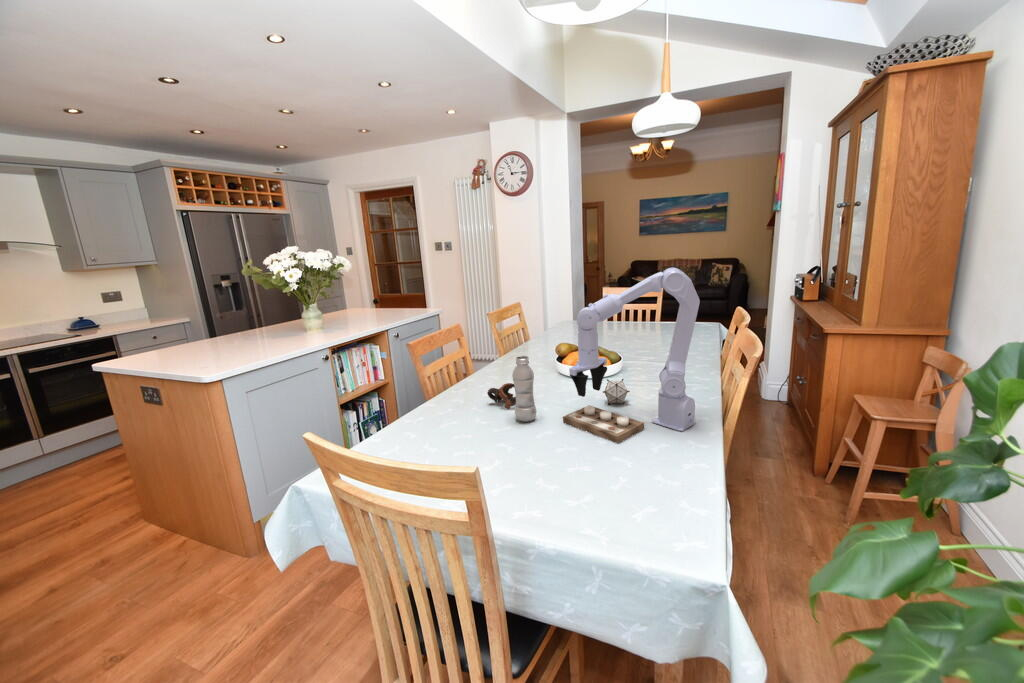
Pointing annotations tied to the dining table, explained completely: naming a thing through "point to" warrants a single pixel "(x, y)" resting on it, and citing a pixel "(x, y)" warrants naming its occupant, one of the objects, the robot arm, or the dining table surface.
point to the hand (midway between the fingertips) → (589, 392)
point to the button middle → (605, 416)
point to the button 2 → (622, 422)
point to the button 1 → (589, 410)
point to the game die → (615, 391)
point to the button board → (603, 425)
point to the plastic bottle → (524, 390)
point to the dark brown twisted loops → (503, 395)
